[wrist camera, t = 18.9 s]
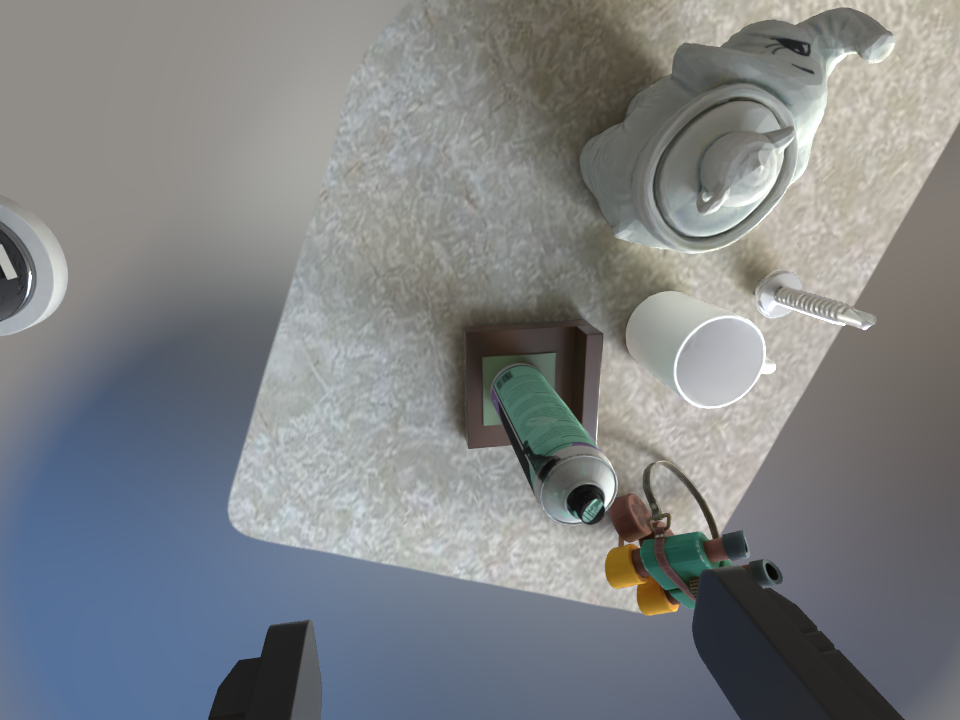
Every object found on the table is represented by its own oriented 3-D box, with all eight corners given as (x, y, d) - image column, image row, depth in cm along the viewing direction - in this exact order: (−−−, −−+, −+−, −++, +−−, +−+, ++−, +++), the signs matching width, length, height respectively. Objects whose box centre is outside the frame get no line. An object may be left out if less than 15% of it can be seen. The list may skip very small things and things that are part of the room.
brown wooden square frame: (465, 439, 54) (472, 464, 50) (462, 326, 50) (470, 341, 46) (578, 429, 56) (595, 453, 52) (584, 319, 52) (603, 333, 48)
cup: (638, 281, 52) (693, 305, 42) (743, 305, 54) (818, 332, 45) (612, 361, 54) (659, 401, 45) (714, 379, 57) (779, 421, 47)
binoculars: (596, 458, 62) (584, 580, 51) (711, 415, 54) (726, 549, 42) (664, 525, 66) (666, 649, 55) (779, 494, 58) (809, 633, 47)
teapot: (747, 47, 46) (964, -29, 29) (731, 225, 51) (908, 252, 34) (563, 56, 44) (677, -21, 27) (566, 241, 49) (663, 278, 32)
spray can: (484, 411, 51) (539, 548, 33) (496, 358, 50) (561, 469, 31) (538, 418, 52) (620, 553, 34) (551, 366, 51) (646, 478, 32)
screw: (794, 273, 54) (774, 318, 56) (755, 260, 53) (735, 307, 54) (911, 302, 42) (882, 358, 43) (864, 286, 41) (834, 345, 42)
